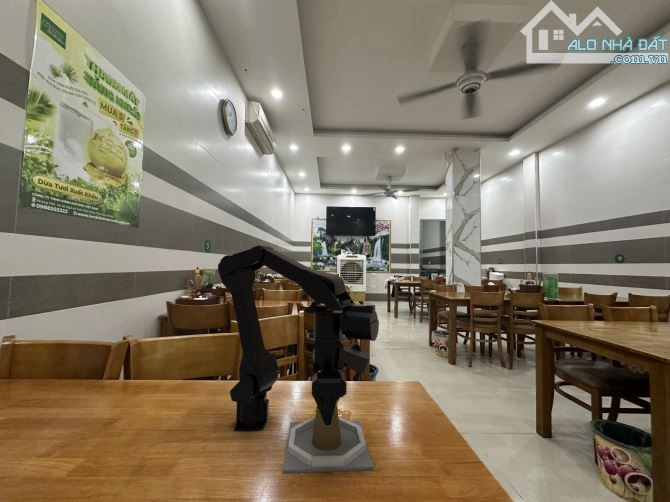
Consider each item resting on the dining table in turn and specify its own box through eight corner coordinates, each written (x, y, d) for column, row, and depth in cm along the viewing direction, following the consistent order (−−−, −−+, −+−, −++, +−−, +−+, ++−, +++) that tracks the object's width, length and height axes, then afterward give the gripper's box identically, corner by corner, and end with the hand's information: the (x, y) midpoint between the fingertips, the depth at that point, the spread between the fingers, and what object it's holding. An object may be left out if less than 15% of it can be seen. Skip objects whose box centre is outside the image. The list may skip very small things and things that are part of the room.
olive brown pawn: (338, 452, 56) (338, 393, 57) (308, 448, 57) (308, 390, 58) (343, 435, 62) (344, 381, 63) (316, 431, 63) (316, 379, 64)
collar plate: (282, 473, 51) (282, 463, 51) (290, 424, 67) (290, 416, 67) (373, 469, 52) (373, 459, 52) (359, 422, 68) (359, 414, 68)
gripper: (375, 347, 52) (374, 438, 51) (359, 326, 71) (359, 392, 70) (312, 347, 51) (311, 440, 51) (313, 326, 70) (312, 393, 69)
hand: (326, 412), depth 60 cm, fingers open, 9 cm apart
